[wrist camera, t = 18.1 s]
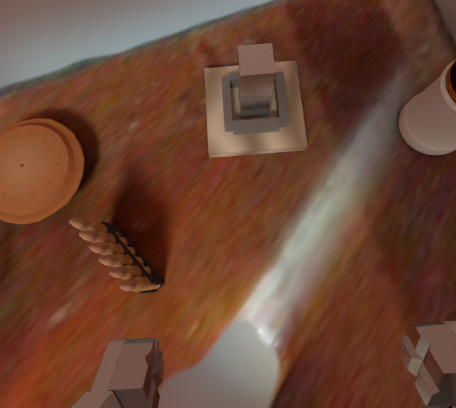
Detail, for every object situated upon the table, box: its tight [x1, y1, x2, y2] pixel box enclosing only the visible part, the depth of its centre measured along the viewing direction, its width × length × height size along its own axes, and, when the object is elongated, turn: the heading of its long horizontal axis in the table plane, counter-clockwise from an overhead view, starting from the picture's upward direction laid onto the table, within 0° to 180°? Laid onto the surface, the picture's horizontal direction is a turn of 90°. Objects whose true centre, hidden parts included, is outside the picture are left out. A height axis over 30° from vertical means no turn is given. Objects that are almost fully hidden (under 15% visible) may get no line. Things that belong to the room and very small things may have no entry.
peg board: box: [204, 60, 307, 158], centre depth 45 cm, size 14×14×4 cm
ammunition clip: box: [69, 218, 164, 293], centre depth 37 cm, size 11×2×12 cm, turn 42°
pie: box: [0, 118, 85, 224], centre depth 44 cm, size 15×16×5 cm
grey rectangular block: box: [238, 43, 275, 119], centre depth 40 cm, size 4×4×10 cm
